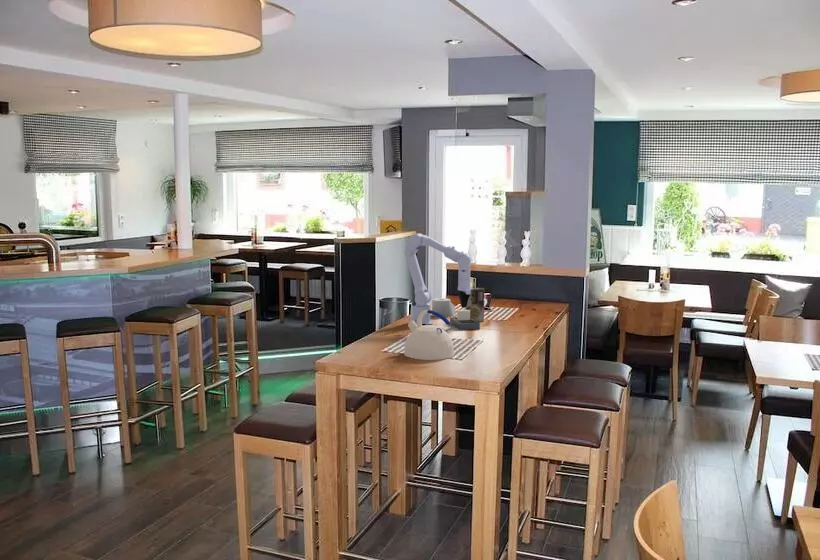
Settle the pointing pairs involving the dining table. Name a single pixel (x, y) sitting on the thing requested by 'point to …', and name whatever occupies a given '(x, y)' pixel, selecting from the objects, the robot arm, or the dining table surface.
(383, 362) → the dining table surface
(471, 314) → the coffee box
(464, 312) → the panel
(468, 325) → the rack
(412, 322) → the kettle
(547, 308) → the dining table surface
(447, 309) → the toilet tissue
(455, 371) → the dining table surface
